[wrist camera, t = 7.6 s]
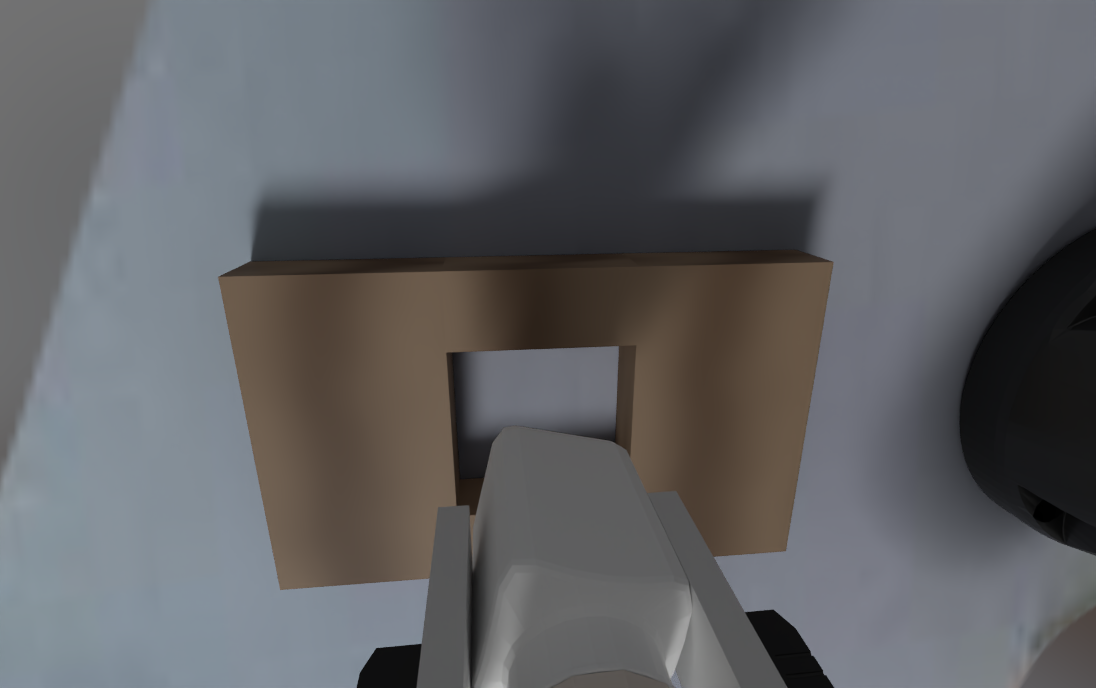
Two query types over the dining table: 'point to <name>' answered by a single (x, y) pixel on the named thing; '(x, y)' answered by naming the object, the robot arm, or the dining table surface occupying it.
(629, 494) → the pepper shaker
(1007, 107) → the dining table surface
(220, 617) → the dining table surface
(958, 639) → the dining table surface
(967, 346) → the dining table surface
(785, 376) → the spice block
